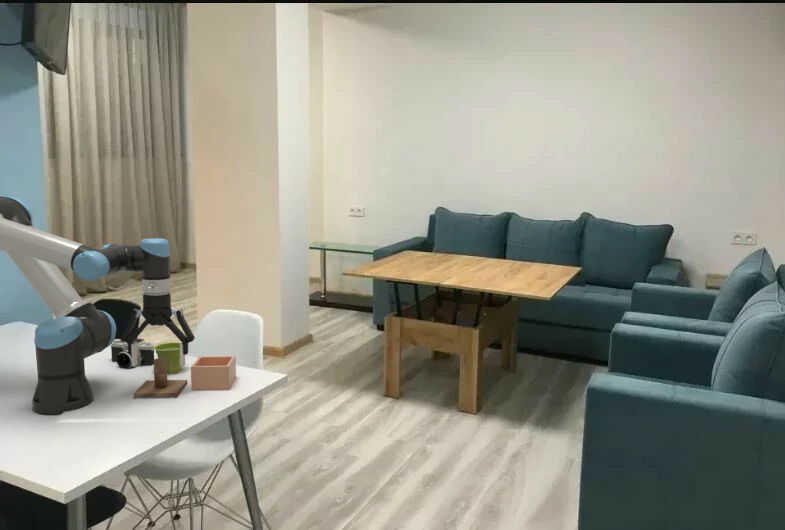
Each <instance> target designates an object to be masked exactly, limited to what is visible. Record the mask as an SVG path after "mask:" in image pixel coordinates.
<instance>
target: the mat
mask: <svg viewBox="0 0 785 530" xmlns="http://www.w3.org/2000/svg"><path fill="white" fill-rule="evenodd" d="M187 385H188V383H187V384H186V385H185V387H184V388H183V389H182V391H181V392H180V393H179V394H178V396H171V397H134V396H133V399H174V398H175V399H176V398H178V397H179V396H180V394H181V393H182V392H183V391H184V389H185V388H186V387H187Z"/></svg>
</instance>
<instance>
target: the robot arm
mask: <svg viewBox="0 0 785 530" xmlns="http://www.w3.org/2000/svg"><path fill="white" fill-rule="evenodd" d="M33 221H34V220H33V213H32V211H31V208H30V207H29V206H28V205H27V204H26V203H25V202H24V201H23V200H21V199H19V198H16V197H12V196H6V195H5V196H3V195H0V252H6V254H7V255H8V257H9V258H10V259H11V260H12V262H13V263H14V264H15V266H16V267H17V269H18V270H19V271H20V273H21V274H22V275H23V276H24V278H25V279H26V280H27V282H28V283H29V285H31V287H32V288H33V290H34V291H35V292H36V293H37V294H38V296H39V297H40V298H41V300H42V301H43V303H44V304H45V305H46V306H47V308H48V309H49V311H50V312H51V313H52V314H53V316H54V317H55V318H50V319H47V320H45V321H43V322H40V323H39V324H38V325H37V326H36V328H35V330H34V341H33V342H34V346H35V356H36V359H35V360H36V369H37V370H36V372H37V384H36V387H35V388H34V393H33V397H32V401H31V405H32V410H33V411H34V412H36V413H38V414H45V415H47V414H49V415H50V414H51V415H53V414H54V415H57V414H63V413H66V412H72V411H76V410H79V409H82V408H85V407H87V406H89V405H91V404H92V403H93V402H94V401H95V400H94V393H93V389H92V387H91V385H90V383H89V381H88V379H87V375H86V369H85V366H86V365H85V359H87V358H89V357H91V356H93V355H96V354H98V353H101V352H103V351H104V350H106V349H107V348H108V347H111V344H112V342H113V341H114V340H115V338H116V335H117V334H116V333H117V325H116V322H115V319H114V318H113V317H112V315H111V314H109V313H108V312H106V311H104V310H101V309H100V310H99V309H97V308H96V306H95V305H94V304H93V302H91V301H90V300H89V301H88V300H84V299H83V298H81V296H80V294H79V293H78V292H77V291H76V289H75V288H74V287H73V285H72V284H71V283H70V282H69V280H68V279H67V278H66V275H64V274H63V272H62V271H61V269H60V268H59V267H61V268H63V269H66V270H69V271H72V272H74V273H75V274H76V275H77V277H78V278H79V279H81V280H84V281H96V280H100V279H102V278H105V277H109V276H113V275H115V274H119V273H122V272H136V273H141V276H142V277H141V280H142V292H143V295H142V309H139V308H134V309H133V310H131V313H130V314H131V315H130V319H129V321H128V323H127V325H126V327H125V330H124V331H123V334H122V335H121V338H120V339H121V341H122V342H126V343H128V353H129V354H132V366H134V367H137V366H136V365H137V364H138V356H137V342H134V341H135V339H138V337H139V336H140V335H141V333H142V332H143V331H144V330H145V328H147V326H148V325H150V326H153V327H154V326H160V327H161V326H166V327H167V328H168V329H169V330H170V332H172V333H173V334H174V335H175V337H176V338H177V339H178V340H179V341H180V343H181V344H180V367H182V368H183V367H184V366H185V365H186V355H188V354H189V343H192V342H193V341H194V340H195V339H196V337H195V335H194V333H193V331H192V329H191V328H190V326H189V324H188V322H187V320H186V318H185V316H184V310H183V309H182V308H179V309H176V310H175V309H172V299H171V297H172V295H171V293H170V292H171V274H170V273H171V265H170V264H171V262H170V259H171V257H170V256H171V253H170V245H169V241H168V240H167V239H166V238H161V237H160V238H159V237H157V238H155V237H154V238H153V237H152V238H144V239H142V240H141V241H140V245H133V244H132V245H131V244H129V245H128V244H118V243H114V244H105V245H102V246H101V248H96V247H93V246H89V245H85V244H83V243H80V242H77V241H73V240H71V239H68V238H65V237H61V236H59V235H56V234H53V233H49V232H46V231H43V230H41V229H38V228H36V227H35V226H34V225H33V224H34V223H33ZM141 315H142V317H143V318H144V320H143V322H142V323H141V325H139V326H138V328H137V329H136V330H135V331H134V332H133V334H132V335H131V336H130V334H131V332H132V330H133V329H134V326H135V325H136V323H137V320H138V318H139V317H141ZM172 316H174V317H175V319H177V322H178V323H179V325H180V328H181V329H182V331H181V329H180V328H179V327H178V326H177V324H175V322H174V321H173V319H172V318H171V317H172Z"/></svg>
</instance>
